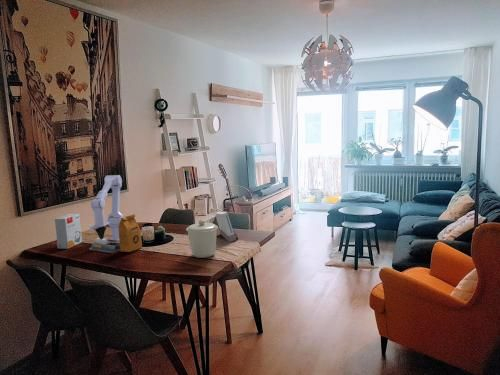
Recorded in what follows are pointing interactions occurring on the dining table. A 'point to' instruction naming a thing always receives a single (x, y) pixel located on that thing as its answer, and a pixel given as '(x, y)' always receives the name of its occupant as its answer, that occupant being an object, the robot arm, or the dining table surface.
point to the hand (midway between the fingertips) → (101, 238)
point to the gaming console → (225, 226)
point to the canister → (202, 239)
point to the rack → (106, 247)
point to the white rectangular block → (101, 241)
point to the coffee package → (129, 234)
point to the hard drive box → (68, 231)
